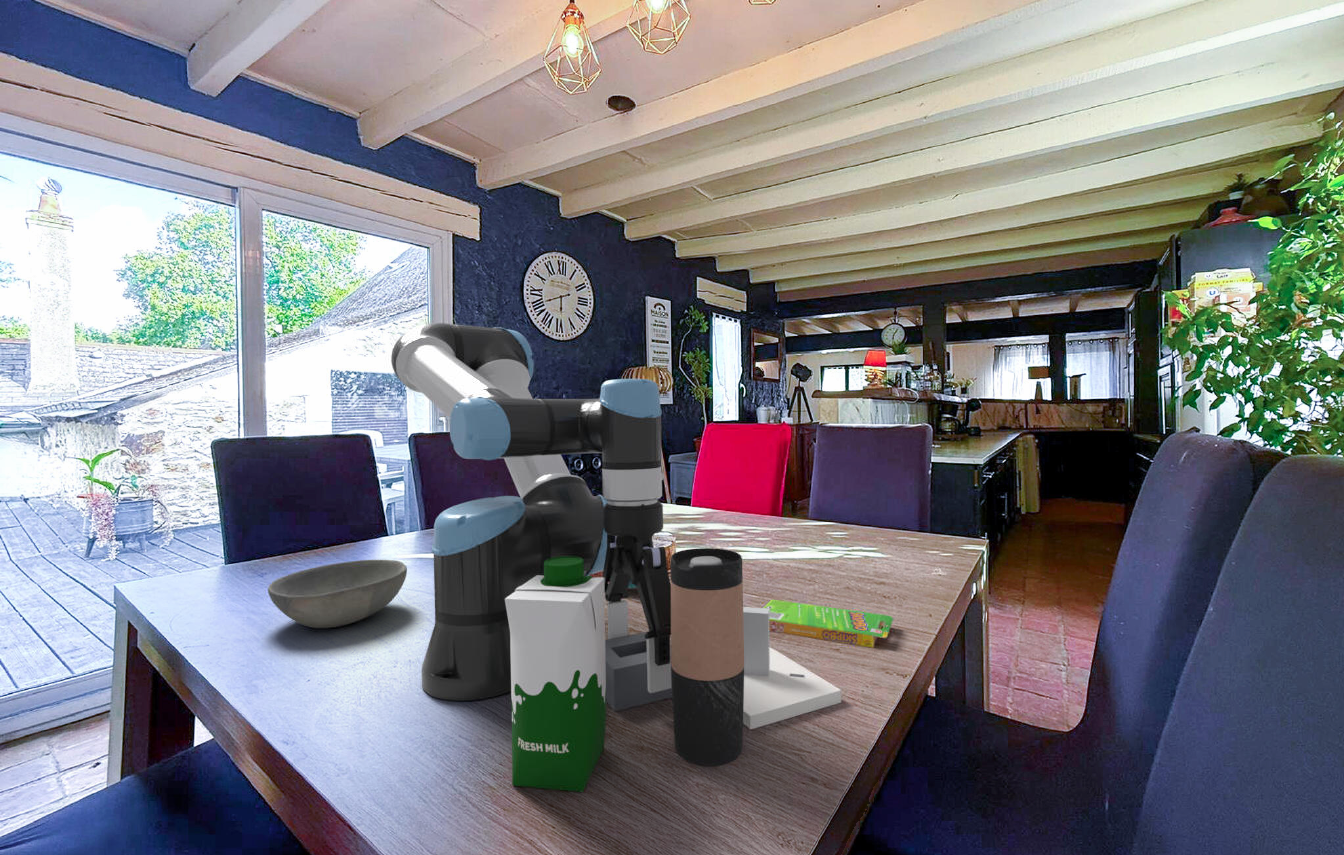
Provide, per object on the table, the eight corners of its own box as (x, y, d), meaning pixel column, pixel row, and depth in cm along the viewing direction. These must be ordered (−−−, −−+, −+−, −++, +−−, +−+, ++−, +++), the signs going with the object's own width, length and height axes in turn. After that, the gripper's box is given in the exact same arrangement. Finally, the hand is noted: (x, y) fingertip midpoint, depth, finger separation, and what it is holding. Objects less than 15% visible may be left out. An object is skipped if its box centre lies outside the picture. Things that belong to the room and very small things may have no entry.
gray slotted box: (614, 711, 67) (613, 666, 67) (590, 680, 75) (590, 640, 75) (682, 694, 71) (682, 652, 71) (653, 666, 79) (652, 628, 79)
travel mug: (739, 724, 64) (737, 546, 64) (750, 766, 56) (748, 564, 56) (670, 727, 64) (668, 548, 63) (673, 769, 56) (670, 566, 56)
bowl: (403, 631, 94) (402, 582, 94) (250, 652, 86) (249, 599, 86) (410, 594, 114) (409, 554, 113) (286, 608, 106) (285, 565, 106)
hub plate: (750, 729, 63) (749, 643, 63) (677, 666, 79) (676, 598, 79) (841, 702, 69) (840, 623, 69) (755, 648, 85) (755, 584, 85)
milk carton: (614, 744, 61) (611, 556, 60) (588, 801, 52) (585, 580, 51) (535, 738, 62) (532, 554, 62) (497, 792, 53) (493, 577, 53)
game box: (772, 616, 102) (894, 628, 93) (754, 635, 93) (887, 651, 84) (771, 598, 102) (893, 609, 93) (752, 616, 93) (886, 631, 84)
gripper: (707, 510, 63) (711, 702, 63) (625, 489, 86) (628, 631, 86) (644, 517, 60) (649, 719, 60) (576, 493, 82) (580, 640, 82)
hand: (637, 668), depth 73 cm, fingers open, 13 cm apart
